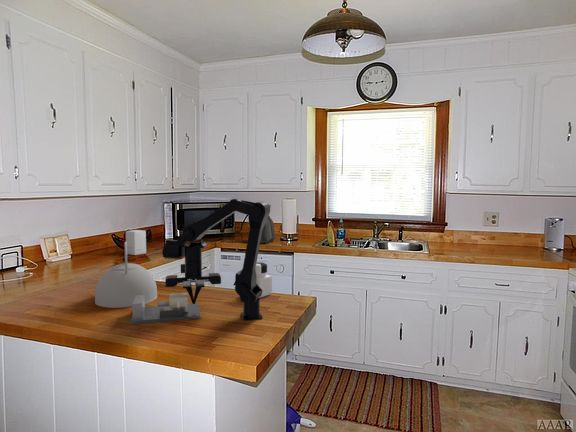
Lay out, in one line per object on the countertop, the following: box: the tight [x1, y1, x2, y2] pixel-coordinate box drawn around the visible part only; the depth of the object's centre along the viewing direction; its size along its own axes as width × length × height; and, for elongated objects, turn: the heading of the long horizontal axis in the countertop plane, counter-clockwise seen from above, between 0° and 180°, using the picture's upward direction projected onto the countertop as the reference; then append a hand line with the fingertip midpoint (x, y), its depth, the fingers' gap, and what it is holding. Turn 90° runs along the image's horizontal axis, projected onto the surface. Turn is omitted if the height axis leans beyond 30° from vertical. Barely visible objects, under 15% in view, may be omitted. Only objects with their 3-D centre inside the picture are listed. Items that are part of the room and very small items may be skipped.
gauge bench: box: [129, 295, 201, 325], centre depth 134 cm, size 14×22×6 cm, turn 106°
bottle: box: [247, 203, 277, 244], centre depth 301 cm, size 18×16×30 cm
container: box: [255, 261, 273, 299], centre depth 159 cm, size 8×8×13 cm
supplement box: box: [125, 229, 147, 256], centre depth 249 cm, size 9×9×15 cm
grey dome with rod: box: [94, 241, 158, 309], centre depth 153 cm, size 25×23×22 cm
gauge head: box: [156, 292, 189, 312], centre depth 133 cm, size 10×10×5 cm
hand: (193, 303), depth 136 cm, fingers closed
